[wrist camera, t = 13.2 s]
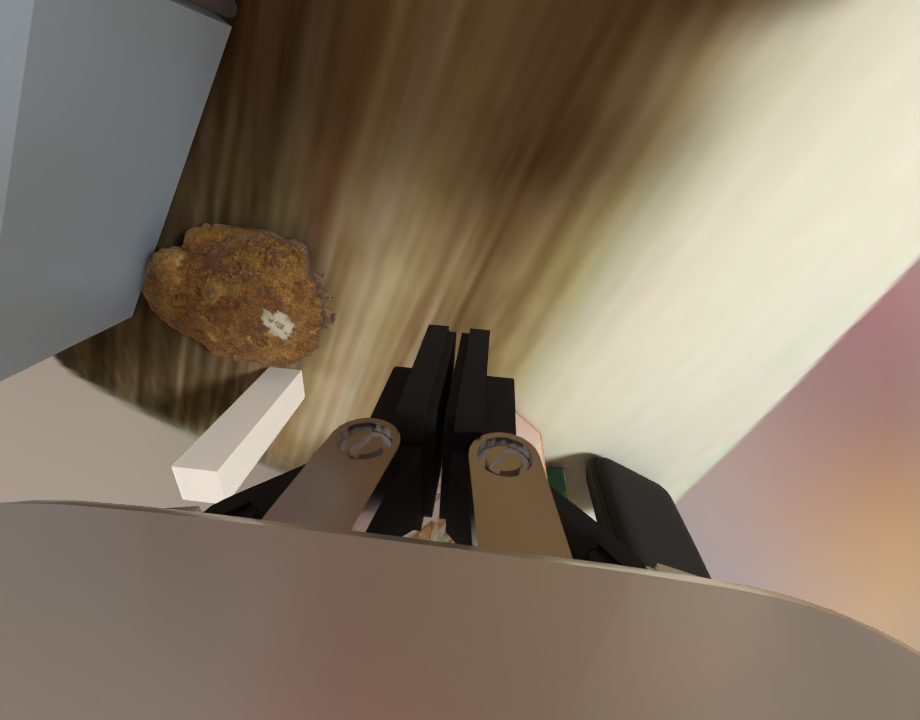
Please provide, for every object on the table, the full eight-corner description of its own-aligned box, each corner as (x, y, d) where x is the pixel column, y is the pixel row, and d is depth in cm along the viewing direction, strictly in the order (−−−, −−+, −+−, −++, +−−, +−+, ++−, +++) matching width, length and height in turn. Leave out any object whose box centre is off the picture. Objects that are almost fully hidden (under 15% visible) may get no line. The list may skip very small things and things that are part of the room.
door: (196, -34, 24) (-41, -169, 13) (240, 2, 24) (48, -99, 14) (99, 297, 35) (-72, 366, 24) (132, 316, 35) (-22, 391, 25)
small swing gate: (172, -218, 21) (-216, -645, 9) (229, -214, 21) (-93, -641, 9) (274, 393, 39) (182, 499, 28) (304, 397, 39) (226, 504, 28)
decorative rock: (188, 345, 38) (347, 348, 37) (158, 369, 34) (333, 373, 34) (136, 218, 32) (326, 220, 31) (94, 231, 28) (306, 234, 28)
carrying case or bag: (680, 487, 41) (766, 650, 28) (658, 505, 42) (731, 668, 29) (593, 442, 39) (642, 593, 26) (574, 462, 40) (611, 616, 27)
